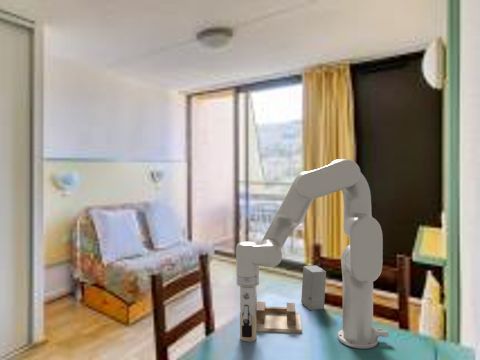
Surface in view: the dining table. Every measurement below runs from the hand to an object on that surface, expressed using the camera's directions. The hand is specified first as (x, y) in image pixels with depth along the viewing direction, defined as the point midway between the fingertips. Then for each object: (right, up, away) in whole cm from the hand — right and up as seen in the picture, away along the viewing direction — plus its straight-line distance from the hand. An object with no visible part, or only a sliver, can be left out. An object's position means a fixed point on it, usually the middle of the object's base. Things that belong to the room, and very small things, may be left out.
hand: (248, 330), depth 121 cm
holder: (+10, -2, +11) cm, 15 cm away
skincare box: (+27, -1, +26) cm, 38 cm away
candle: (0, -3, 0) cm, 3 cm away
